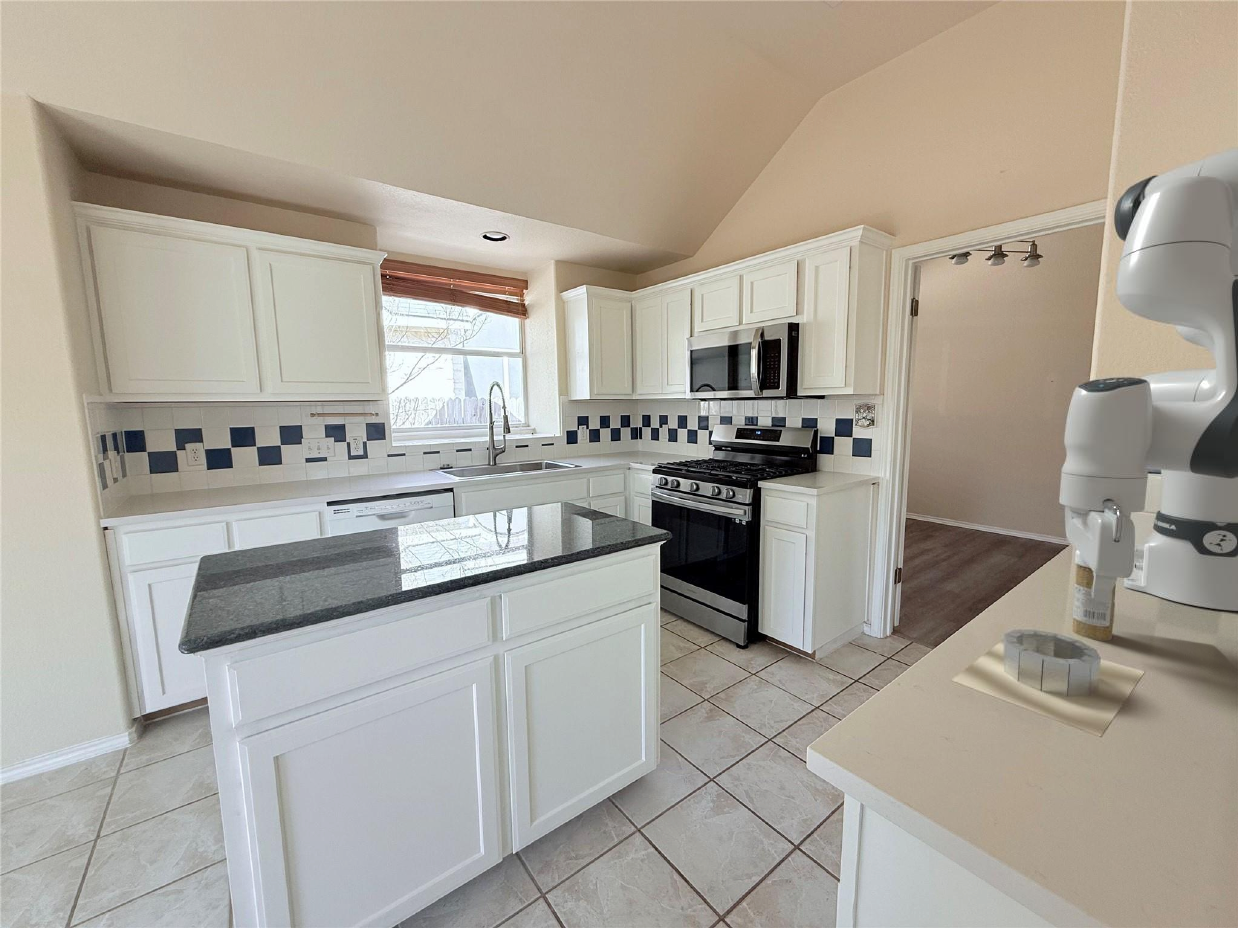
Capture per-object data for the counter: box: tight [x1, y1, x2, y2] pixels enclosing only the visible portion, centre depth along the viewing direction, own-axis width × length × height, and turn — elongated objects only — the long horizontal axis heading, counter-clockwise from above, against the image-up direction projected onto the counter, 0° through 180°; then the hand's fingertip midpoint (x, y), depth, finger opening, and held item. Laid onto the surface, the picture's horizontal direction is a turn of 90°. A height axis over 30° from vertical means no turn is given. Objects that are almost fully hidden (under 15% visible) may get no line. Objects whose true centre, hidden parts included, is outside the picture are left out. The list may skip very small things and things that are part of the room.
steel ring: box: [1003, 629, 1102, 697], centre depth 64 cm, size 9×9×4 cm
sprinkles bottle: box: [1072, 550, 1117, 641], centre depth 74 cm, size 5×5×14 cm
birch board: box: [950, 638, 1145, 738], centre depth 65 cm, size 20×14×1 cm
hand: (1092, 589), depth 74 cm, fingers open, 8 cm apart
